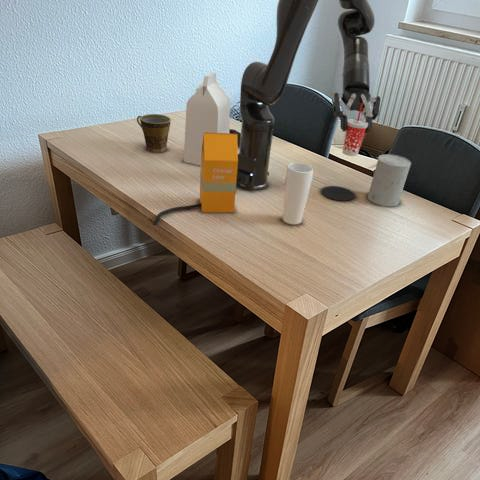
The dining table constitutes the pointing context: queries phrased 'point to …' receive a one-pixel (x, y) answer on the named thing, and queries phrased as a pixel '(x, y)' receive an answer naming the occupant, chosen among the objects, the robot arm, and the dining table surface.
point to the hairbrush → (237, 135)
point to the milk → (205, 116)
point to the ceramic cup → (155, 131)
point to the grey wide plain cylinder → (388, 180)
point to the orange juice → (218, 172)
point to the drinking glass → (296, 191)
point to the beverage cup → (354, 135)
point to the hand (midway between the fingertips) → (356, 130)
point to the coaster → (337, 193)
